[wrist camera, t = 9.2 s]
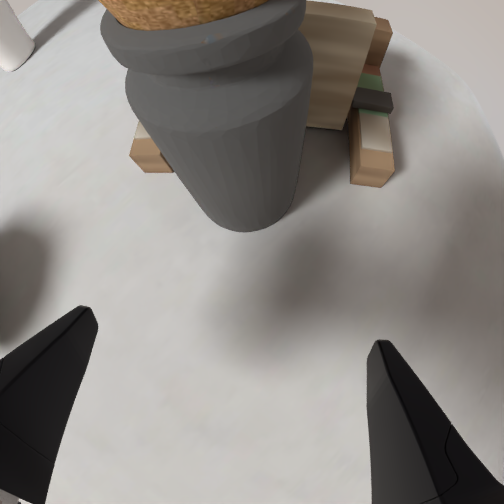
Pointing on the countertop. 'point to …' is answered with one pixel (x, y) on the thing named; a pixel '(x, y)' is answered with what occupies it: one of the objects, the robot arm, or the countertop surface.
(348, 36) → the wooden flat panel
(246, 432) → the countertop surface
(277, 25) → the bottle
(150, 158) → the wooden rack
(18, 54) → the drinking glass
